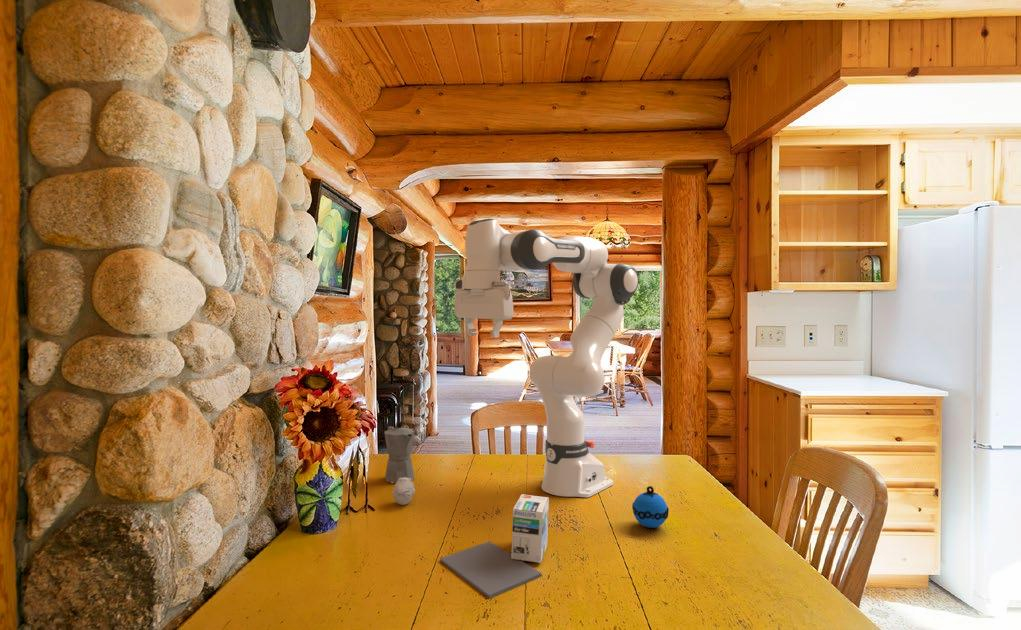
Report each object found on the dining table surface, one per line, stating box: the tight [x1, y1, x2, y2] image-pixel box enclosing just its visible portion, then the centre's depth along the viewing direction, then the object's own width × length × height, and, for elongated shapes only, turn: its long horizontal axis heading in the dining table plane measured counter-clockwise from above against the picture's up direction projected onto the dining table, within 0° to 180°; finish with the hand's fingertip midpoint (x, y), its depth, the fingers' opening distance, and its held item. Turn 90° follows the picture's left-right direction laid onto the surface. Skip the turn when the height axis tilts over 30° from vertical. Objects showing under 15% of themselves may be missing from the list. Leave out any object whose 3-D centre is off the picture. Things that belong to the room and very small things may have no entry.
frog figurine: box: [392, 477, 416, 506], centre depth 145 cm, size 6×7×7 cm
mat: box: [439, 540, 543, 599], centre depth 110 cm, size 13×18×1 cm
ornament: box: [631, 485, 670, 529], centre depth 130 cm, size 9×9×10 cm
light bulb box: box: [510, 493, 550, 564], centre depth 117 cm, size 11×7×11 cm, turn 169°
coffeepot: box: [383, 421, 415, 483], centre depth 166 cm, size 15×9×18 cm, turn 44°
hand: (483, 336), depth 136 cm, fingers open, 8 cm apart
